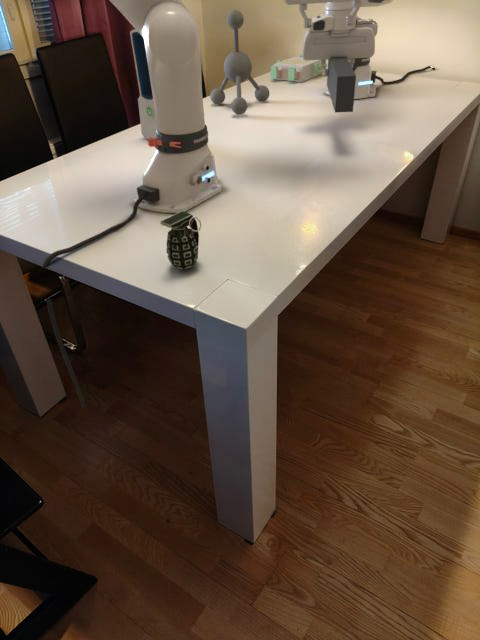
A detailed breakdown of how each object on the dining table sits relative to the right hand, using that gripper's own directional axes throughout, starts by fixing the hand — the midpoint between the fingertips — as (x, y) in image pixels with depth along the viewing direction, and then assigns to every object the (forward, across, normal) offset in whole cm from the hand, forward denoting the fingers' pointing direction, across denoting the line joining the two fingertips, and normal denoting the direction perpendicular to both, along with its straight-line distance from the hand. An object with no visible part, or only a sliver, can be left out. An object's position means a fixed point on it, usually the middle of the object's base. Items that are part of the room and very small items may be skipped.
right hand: (336, 75), depth 142 cm
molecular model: (+16, +29, -30) cm, 45 cm away
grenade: (+13, +34, +80) cm, 88 cm away
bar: (+3, 0, +10) cm, 10 cm away
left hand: (-17, +6, +31) cm, 36 cm away
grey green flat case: (+18, +8, -76) cm, 78 cm away
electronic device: (+15, +53, +4) cm, 55 cm away
